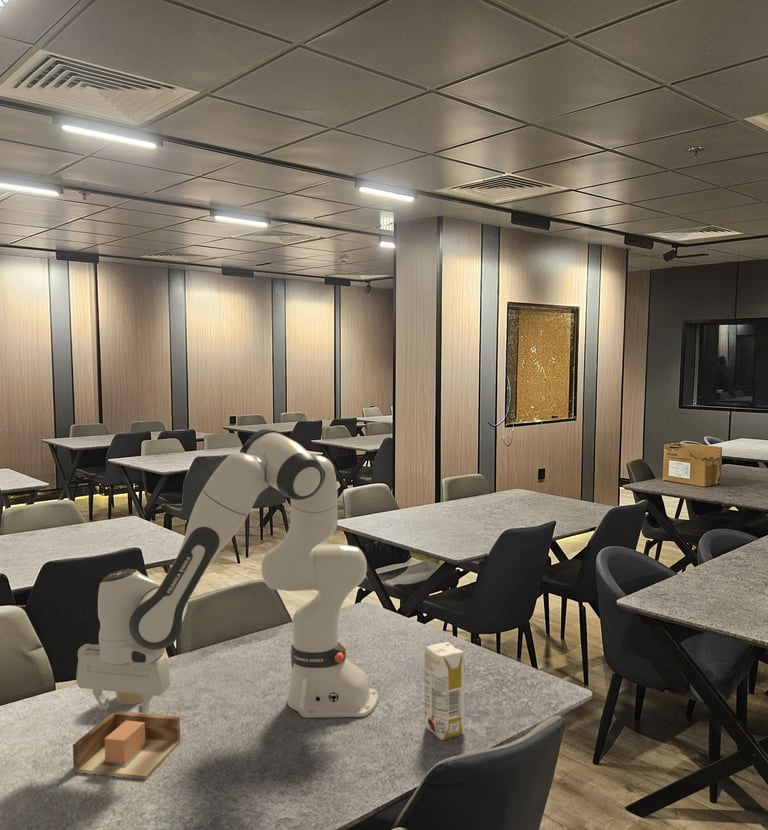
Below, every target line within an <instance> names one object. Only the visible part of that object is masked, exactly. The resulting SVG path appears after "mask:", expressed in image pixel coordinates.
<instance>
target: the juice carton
mask: <svg viewBox="0 0 768 830" xmlns="http://www.w3.org/2000/svg"><path fill="white" fill-rule="evenodd" d="M424 650H425V651H424V723H425V728H426V729H427V730H428V731H429V732H431V733H432V734H434V735H435V737H436V738H438V739H439V740H440V741H443V740H448V739H451V738H454V737H458V736H462V735H464V734H465V724H466V723H465V717H466V716H465V715H466V713H465V711H466V710H465V709H466V707H465V706H466V705H465V704H466V703H465V701H466V700H465V699H466V697H465V696H466V693H465V692H466V691H465V689H466V688H465V687H466V686H465V683H466V682H465V679H466V677H465V674H466V673H465V667H466V666H465V665H466V663H465V662H466V661H465V651H463V650H461V649H459V648H456V647H454V645H452V644H451V643H450V642H447V641H446V642H442V643H441V642H440V643H435V644H431V645H427V646H425V647H424Z"/></svg>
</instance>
